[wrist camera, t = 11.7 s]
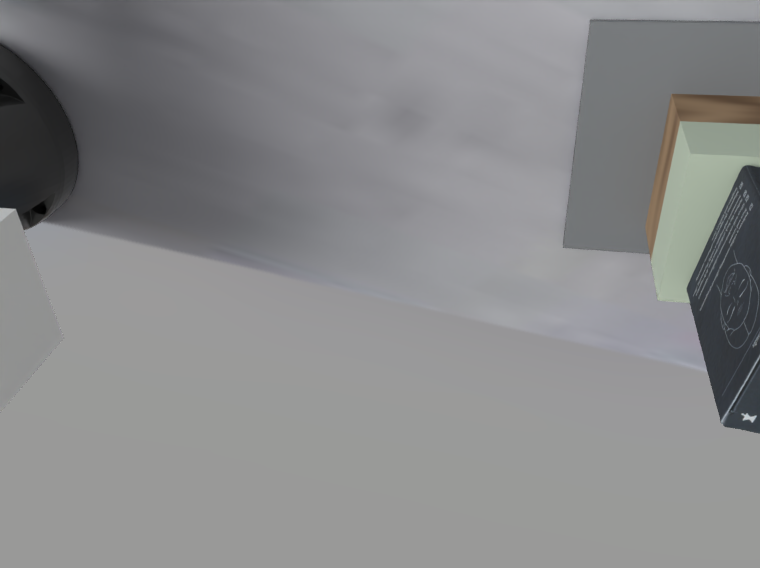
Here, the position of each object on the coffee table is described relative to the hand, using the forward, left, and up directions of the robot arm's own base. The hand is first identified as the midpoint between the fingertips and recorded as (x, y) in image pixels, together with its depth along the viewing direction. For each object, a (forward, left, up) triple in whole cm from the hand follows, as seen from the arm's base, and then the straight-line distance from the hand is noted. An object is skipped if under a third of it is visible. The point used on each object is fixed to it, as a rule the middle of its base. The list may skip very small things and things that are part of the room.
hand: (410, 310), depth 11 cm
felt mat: (+12, -13, -35) cm, 39 cm away
